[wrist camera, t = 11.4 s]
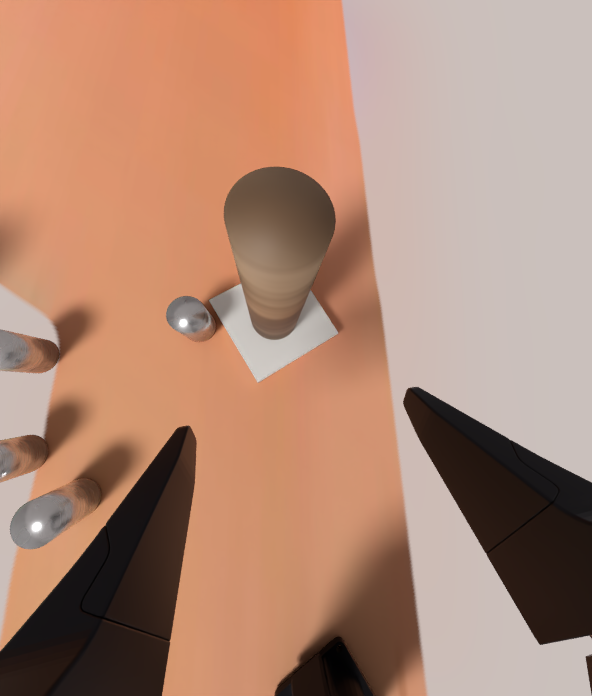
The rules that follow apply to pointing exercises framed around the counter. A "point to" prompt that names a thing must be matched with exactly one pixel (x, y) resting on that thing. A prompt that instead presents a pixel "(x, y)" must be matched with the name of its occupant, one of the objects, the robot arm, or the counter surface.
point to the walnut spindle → (278, 243)
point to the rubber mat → (265, 352)
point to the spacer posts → (31, 451)
